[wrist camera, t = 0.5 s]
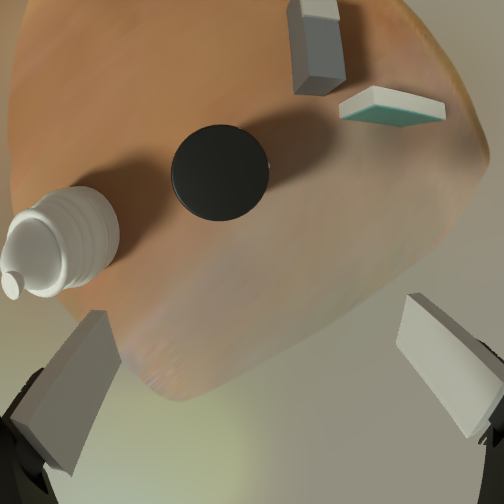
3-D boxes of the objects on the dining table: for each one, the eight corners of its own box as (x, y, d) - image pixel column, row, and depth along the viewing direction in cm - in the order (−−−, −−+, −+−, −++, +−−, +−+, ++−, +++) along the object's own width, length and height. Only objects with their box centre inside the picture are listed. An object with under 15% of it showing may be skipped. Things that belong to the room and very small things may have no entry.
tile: (338, 104, 32) (372, 85, 22) (401, 113, 32) (444, 103, 23) (339, 119, 32) (374, 105, 23) (402, 127, 33) (446, 120, 23)
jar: (273, 179, 34) (293, 185, 23) (221, 220, 35) (215, 244, 24) (228, 124, 32) (225, 100, 20) (176, 165, 33) (148, 163, 21)
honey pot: (133, 208, 34) (55, 244, 17) (105, 288, 37) (41, 360, 20) (61, 172, 32) (-31, 185, 14) (41, 250, 34) (-36, 296, 17)
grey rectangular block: (286, 10, 27) (298, -23, 19) (314, 12, 27) (332, -17, 19) (293, 94, 31) (310, 74, 23) (324, 96, 31) (348, 78, 23)
